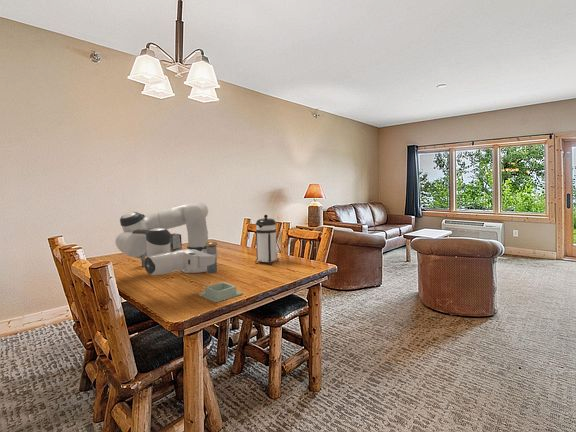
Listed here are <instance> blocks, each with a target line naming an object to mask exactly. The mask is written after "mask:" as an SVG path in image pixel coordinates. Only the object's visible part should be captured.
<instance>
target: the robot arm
mask: <svg viewBox="0 0 576 432" xmlns="http://www.w3.org/2000/svg"><path fill="white" fill-rule="evenodd" d="M208 213H209V209H208V206H207V205H206V203H204V202H202V201H195V202H190V203H186V204H182V205H178V206H174V207H169V208H165V209H161V210H156V211H154V212H151V213H148V214H146V215H145V214H143V213H140V212H138V211H137V212H136V211H130V212H127V213H125V214H123V215H122V216H121V217H120V218H119V223H120V226H121V228H122V231H123V232H121V233H119V234H117V236H116V238H115V241H114V242H115V246H116V247H117V250H119V251H120V252H121V253H123V254H124V255H126V256H128V257H132V258H136V257H140V256H141V255H143V254H144V253H145V252H146V251H147V256H146V257H145V261H144V267H143V268H144V270H145V271H146V272H147V274H149V275H151V276H155V275H157V276H158V275H166V274H171V273H173V272H176V271H179V272H180V271H181V272H183V274H189V273H190V274H191V273H192V274H193V273H194V274H195V273H205V272H207V266H209V265H213V264H214V263H215V258H217V259H218V257H219V256H218V255H219V254H218V253H217V254H216V253H214V254H212V255H211V254H208V253H207V249H206V242H209V231H208V226H207V220H206V218H207V216H208ZM184 225H185V226H186V231H187V244H188V245H187V246H186V248H182V250H176V251H174V252H170V242H171V234H172V233H171V232H170V231H169V229H172V228H173V229H175V228H176V227H181V226H184Z"/></svg>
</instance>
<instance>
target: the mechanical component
mask: <svg viewBox="0 0 576 432" xmlns="http://www.w3.org/2000/svg"><path fill="white" fill-rule="evenodd" d="M146 257H147V251H146V252H145V253H144V254H143V255H141V256H139V257H135V259H140V260H141V267H142V268H145V267H144V261H145V258H146Z"/></svg>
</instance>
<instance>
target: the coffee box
mask: <svg viewBox="0 0 576 432" xmlns="http://www.w3.org/2000/svg"><path fill="white" fill-rule="evenodd" d="M182 242H183V241H182V234H181V233H180V234H179V233H171V242H170V252H174V251H176V250H183V245H182Z"/></svg>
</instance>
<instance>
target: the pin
mask: <svg viewBox="0 0 576 432" xmlns="http://www.w3.org/2000/svg"><path fill="white" fill-rule="evenodd" d="M217 245H218V241H208V242H206V249H207V253H208V254H211V255H212V254H214V253H216V254H218V252H217ZM217 261H218V257H217V258H215V263H214V264H213V265H209V266H207V271H206V272H207V274H217V273H218V262H217Z"/></svg>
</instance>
